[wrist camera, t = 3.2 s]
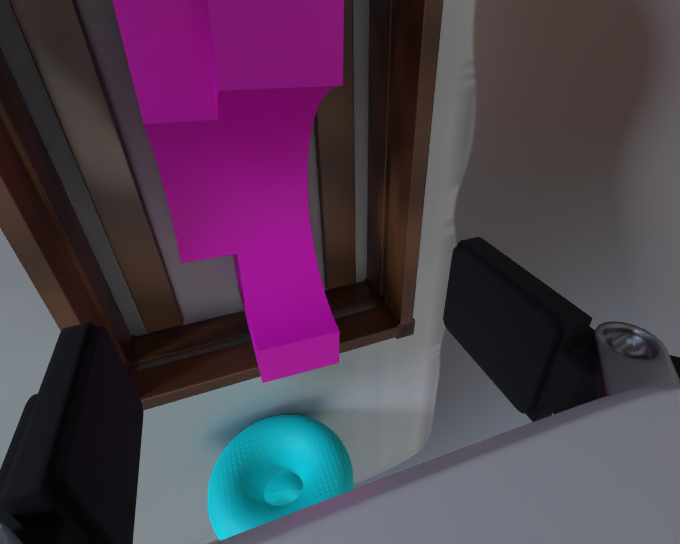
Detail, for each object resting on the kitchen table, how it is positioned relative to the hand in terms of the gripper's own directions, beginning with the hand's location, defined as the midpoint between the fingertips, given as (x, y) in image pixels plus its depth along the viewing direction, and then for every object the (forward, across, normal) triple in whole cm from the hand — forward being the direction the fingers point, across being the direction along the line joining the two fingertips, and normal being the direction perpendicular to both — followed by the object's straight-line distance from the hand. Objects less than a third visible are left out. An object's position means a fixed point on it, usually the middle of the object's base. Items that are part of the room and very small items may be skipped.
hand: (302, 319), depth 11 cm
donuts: (+13, +2, +24) cm, 27 cm away
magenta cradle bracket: (+12, 0, 0) cm, 12 cm away
